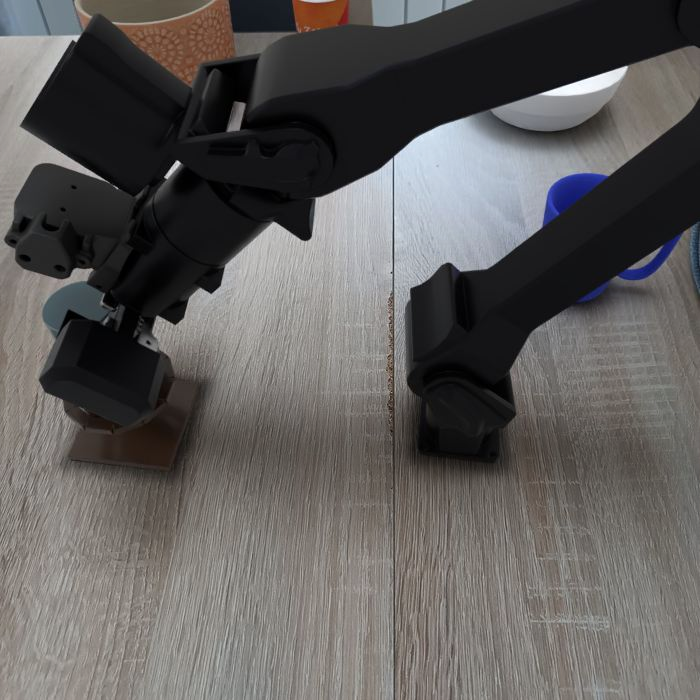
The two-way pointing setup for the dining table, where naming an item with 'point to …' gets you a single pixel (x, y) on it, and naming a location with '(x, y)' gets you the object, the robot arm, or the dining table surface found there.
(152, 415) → the cup holder
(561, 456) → the dining table surface
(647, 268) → the mug
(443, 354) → the robot arm
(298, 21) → the paper cup
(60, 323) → the blue-grey flanged cylinder
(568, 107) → the bowl
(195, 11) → the planter
